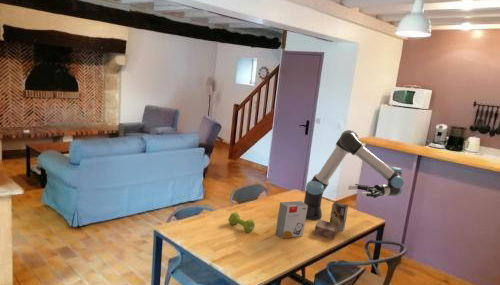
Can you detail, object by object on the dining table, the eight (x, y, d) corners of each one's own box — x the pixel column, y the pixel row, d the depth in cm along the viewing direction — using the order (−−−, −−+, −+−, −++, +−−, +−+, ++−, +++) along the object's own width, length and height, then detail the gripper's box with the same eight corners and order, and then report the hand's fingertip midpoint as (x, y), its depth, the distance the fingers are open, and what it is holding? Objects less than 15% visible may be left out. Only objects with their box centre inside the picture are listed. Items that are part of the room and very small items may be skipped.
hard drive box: (281, 239, 207) (286, 206, 203) (275, 233, 213) (279, 202, 209) (303, 236, 214) (308, 205, 210) (296, 230, 221) (300, 200, 217)
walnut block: (313, 235, 217) (315, 226, 216) (317, 228, 229) (318, 219, 227) (333, 240, 213) (335, 231, 212) (336, 232, 225) (337, 224, 223)
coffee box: (345, 228, 232) (349, 205, 229) (342, 231, 227) (346, 208, 224) (331, 224, 237) (335, 201, 234) (328, 227, 231) (332, 203, 228)
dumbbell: (255, 231, 213) (256, 220, 212) (246, 234, 207) (247, 223, 206) (236, 221, 224) (237, 210, 222) (226, 224, 218) (228, 213, 217)
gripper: (393, 202, 228) (366, 203, 220) (368, 189, 250) (343, 190, 243) (395, 191, 226) (368, 192, 219) (369, 179, 249) (344, 179, 241)
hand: (355, 190), depth 231 cm, fingers open, 13 cm apart
